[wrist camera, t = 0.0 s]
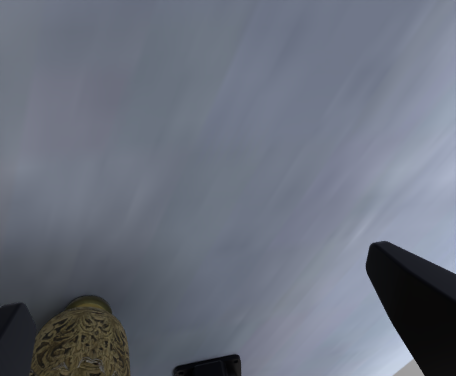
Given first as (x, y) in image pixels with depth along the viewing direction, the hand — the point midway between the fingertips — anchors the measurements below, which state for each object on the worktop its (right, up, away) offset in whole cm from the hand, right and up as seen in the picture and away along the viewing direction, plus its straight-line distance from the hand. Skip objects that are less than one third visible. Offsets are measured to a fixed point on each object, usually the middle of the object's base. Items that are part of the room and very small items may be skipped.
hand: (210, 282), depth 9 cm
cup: (-11, -7, +19) cm, 23 cm away
